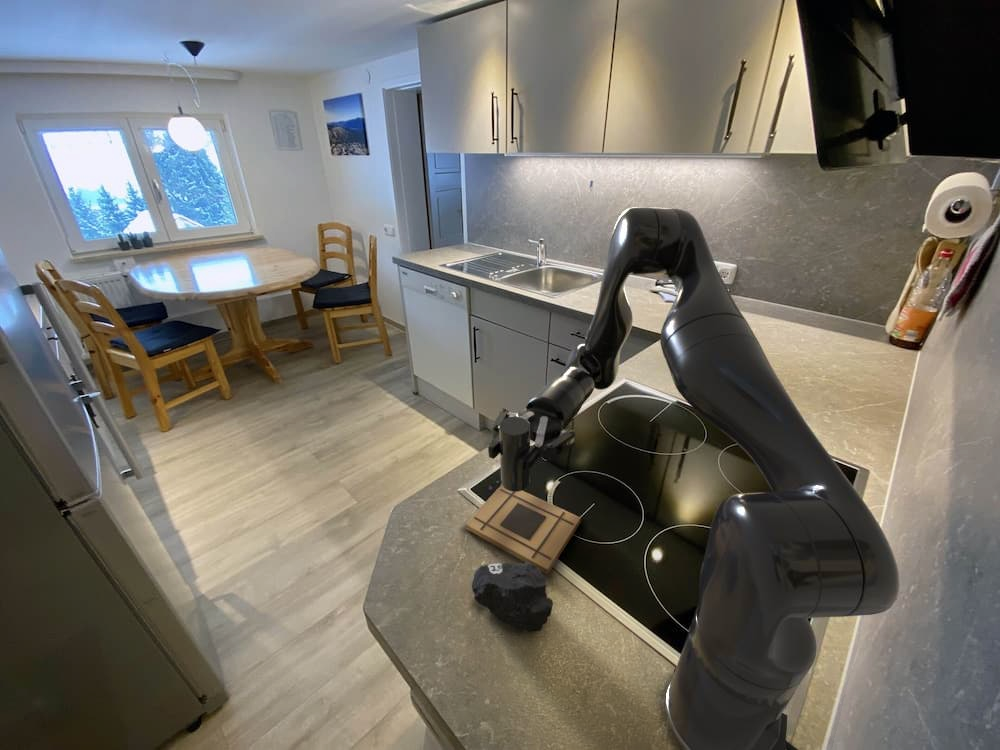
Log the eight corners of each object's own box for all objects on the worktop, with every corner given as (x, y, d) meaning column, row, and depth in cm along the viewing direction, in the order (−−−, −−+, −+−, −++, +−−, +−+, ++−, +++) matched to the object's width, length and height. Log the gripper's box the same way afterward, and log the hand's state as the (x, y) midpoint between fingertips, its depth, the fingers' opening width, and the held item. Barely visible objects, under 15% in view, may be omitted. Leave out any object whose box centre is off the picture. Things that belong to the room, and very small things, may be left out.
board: (580, 522, 72) (581, 517, 71) (547, 574, 63) (547, 569, 63) (504, 486, 80) (503, 481, 79) (465, 528, 71) (464, 523, 71)
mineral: (478, 646, 54) (476, 619, 52) (471, 584, 62) (469, 558, 60) (553, 632, 56) (555, 605, 53) (537, 573, 64) (538, 547, 61)
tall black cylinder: (535, 478, 67) (535, 422, 61) (520, 496, 63) (519, 439, 58) (511, 467, 69) (509, 413, 64) (495, 484, 66) (492, 428, 60)
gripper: (521, 376, 75) (464, 424, 63) (596, 397, 68) (549, 456, 56) (521, 410, 79) (468, 462, 66) (593, 434, 72) (548, 497, 59)
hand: (505, 459), depth 61 cm, fingers closed on tall black cylinder, 4 cm apart
